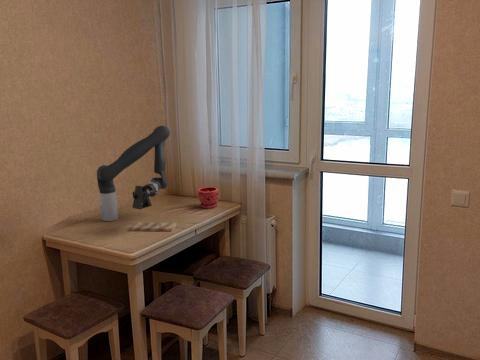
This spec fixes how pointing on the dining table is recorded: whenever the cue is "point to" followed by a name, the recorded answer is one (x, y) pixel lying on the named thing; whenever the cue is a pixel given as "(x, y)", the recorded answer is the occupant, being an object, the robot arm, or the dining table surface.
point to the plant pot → (208, 197)
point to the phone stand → (141, 198)
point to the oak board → (153, 226)
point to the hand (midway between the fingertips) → (139, 196)
